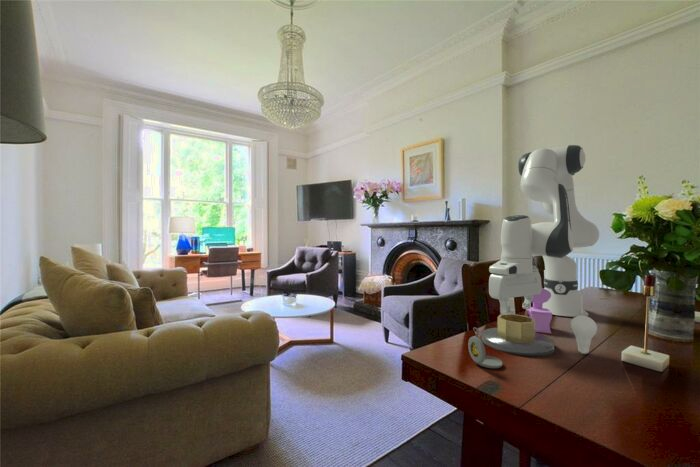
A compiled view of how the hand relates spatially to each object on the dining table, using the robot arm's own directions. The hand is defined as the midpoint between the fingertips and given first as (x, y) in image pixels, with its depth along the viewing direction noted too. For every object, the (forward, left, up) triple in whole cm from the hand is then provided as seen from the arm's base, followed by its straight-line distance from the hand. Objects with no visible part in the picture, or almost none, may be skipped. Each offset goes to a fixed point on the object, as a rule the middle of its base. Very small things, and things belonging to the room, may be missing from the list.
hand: (516, 310), depth 96 cm
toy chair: (-20, +5, -11) cm, 23 cm away
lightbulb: (-2, +17, -11) cm, 20 cm away
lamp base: (0, 0, -11) cm, 11 cm away
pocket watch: (+22, -5, -11) cm, 25 cm away
